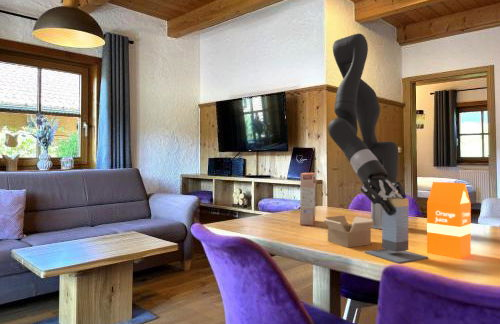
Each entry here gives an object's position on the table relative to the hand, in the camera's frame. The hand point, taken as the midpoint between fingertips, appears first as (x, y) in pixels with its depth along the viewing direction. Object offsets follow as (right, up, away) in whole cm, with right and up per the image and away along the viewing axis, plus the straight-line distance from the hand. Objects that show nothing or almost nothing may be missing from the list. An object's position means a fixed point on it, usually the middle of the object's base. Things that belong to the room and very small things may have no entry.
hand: (399, 212), depth 102 cm
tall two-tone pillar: (-1, -10, +1) cm, 10 cm away
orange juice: (+15, -12, +3) cm, 20 cm away
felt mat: (-1, -12, +1) cm, 12 cm away
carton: (-9, -12, +17) cm, 23 cm away
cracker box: (-16, -12, +55) cm, 58 cm away
